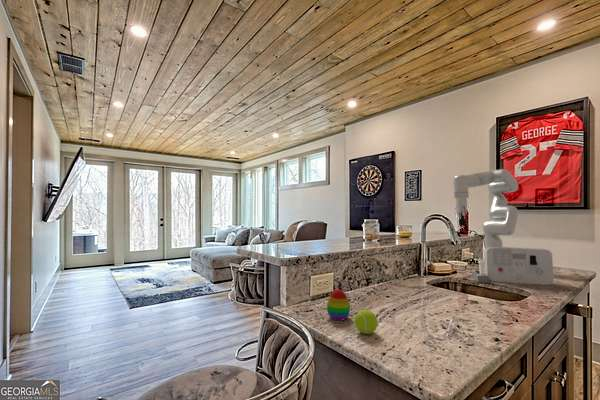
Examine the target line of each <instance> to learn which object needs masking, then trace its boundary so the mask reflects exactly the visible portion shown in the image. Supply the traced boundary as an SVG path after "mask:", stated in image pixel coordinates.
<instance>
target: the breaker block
mask: <svg viewBox="0 0 600 400" xmlns="http://www.w3.org/2000/svg"><path fill="white" fill-rule="evenodd" d="M471 277H472V278H473V279H474V280H475V281H476V282H477V283H482V284H483V283H484V284H489V283H490V280H489V276H488V275H486V274H485V272H484V276H480V270H475V269H474V270H473V269H472V270H471Z"/></svg>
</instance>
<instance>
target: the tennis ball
mask: <svg viewBox="0 0 600 400" xmlns="http://www.w3.org/2000/svg"><path fill="white" fill-rule="evenodd" d="M354 326H355V328H356V329H357V330H358V331H359V332H360V333H362V334H365V335H370V334H373V333H374V332H375V331H376V330H377V327H378V319H377V316H376V315H375V313H374V312H373V311H371V310H368V309H362V310H359V311H358V312H357V313H356V315H355V316H354Z"/></svg>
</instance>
